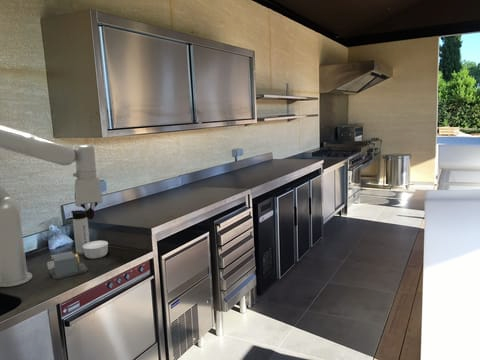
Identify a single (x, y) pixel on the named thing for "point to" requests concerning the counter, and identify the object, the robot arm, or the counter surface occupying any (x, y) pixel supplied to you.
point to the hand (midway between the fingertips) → (90, 218)
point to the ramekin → (95, 249)
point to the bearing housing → (66, 265)
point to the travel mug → (80, 230)
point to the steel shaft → (51, 263)
